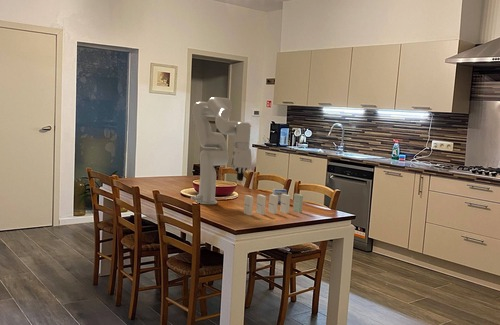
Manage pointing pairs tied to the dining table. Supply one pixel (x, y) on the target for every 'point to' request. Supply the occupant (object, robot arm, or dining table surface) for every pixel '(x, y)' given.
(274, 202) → the domino
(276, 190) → the medicine box
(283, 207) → the domino
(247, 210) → the domino
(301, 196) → the domino
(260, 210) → the domino
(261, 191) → the dining table surface
